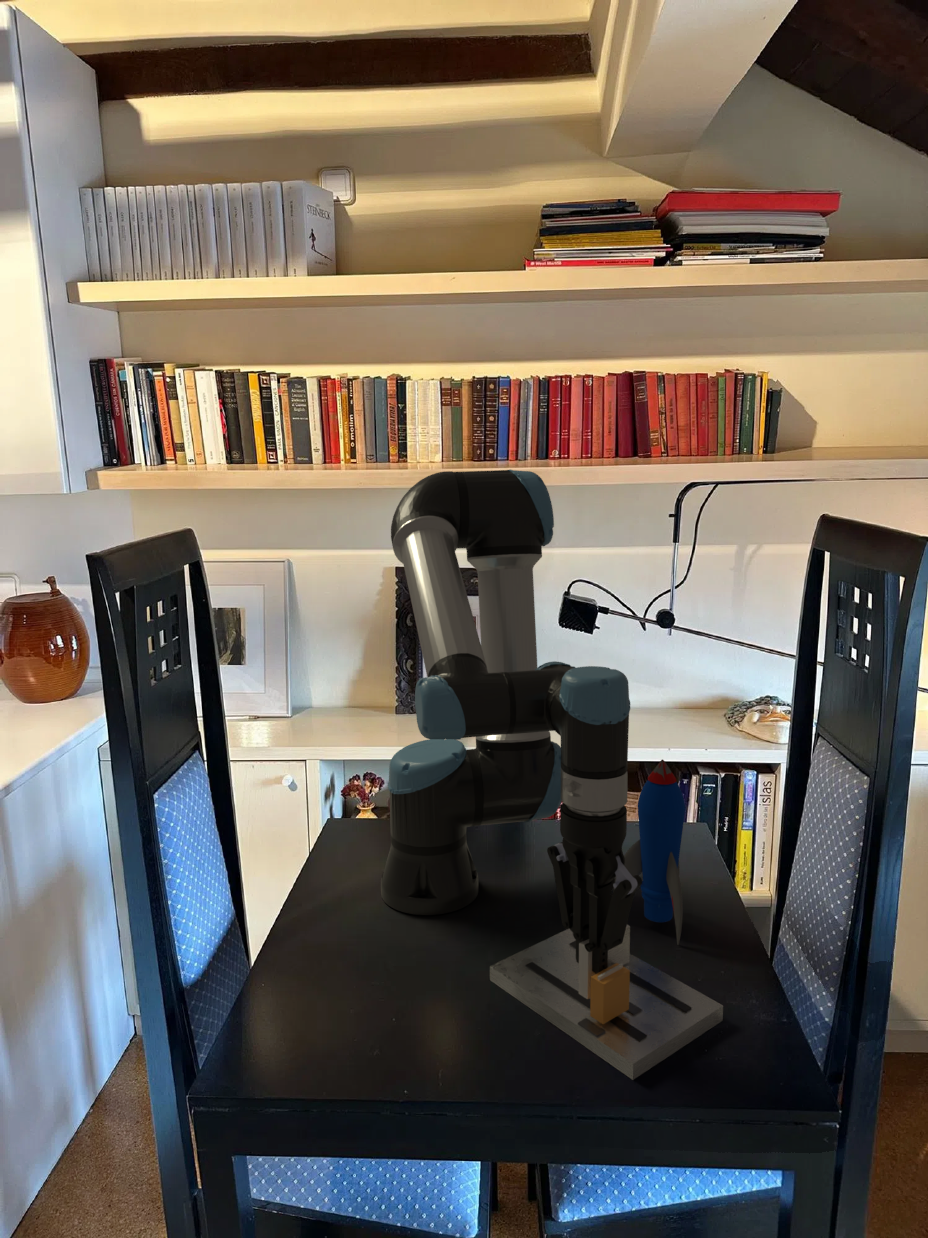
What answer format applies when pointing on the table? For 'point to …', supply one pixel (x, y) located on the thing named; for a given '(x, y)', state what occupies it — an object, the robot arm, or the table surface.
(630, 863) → the toy rocket
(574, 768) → the robot arm
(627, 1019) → the console
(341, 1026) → the table surface
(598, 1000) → the fader
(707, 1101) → the table surface
